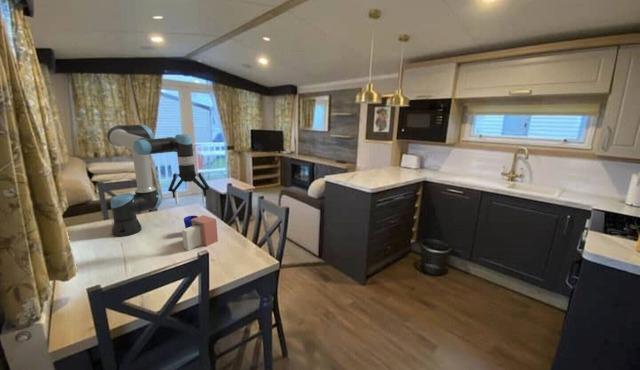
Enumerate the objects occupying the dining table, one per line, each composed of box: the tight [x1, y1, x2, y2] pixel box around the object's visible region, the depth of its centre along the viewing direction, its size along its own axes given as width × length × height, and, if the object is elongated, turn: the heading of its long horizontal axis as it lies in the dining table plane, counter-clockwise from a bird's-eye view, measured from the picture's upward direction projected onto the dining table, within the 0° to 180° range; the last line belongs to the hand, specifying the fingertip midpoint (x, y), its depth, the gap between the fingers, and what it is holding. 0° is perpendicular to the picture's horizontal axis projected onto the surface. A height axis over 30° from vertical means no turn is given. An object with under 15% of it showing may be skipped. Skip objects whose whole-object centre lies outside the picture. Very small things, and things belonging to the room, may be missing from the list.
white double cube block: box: [181, 224, 203, 251], centre depth 156 cm, size 4×15×11 cm, turn 149°
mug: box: [183, 215, 199, 229], centre depth 171 cm, size 8×12×10 cm
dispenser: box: [190, 214, 219, 247], centre depth 160 cm, size 11×9×14 cm
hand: (190, 202), depth 151 cm, fingers open, 13 cm apart
